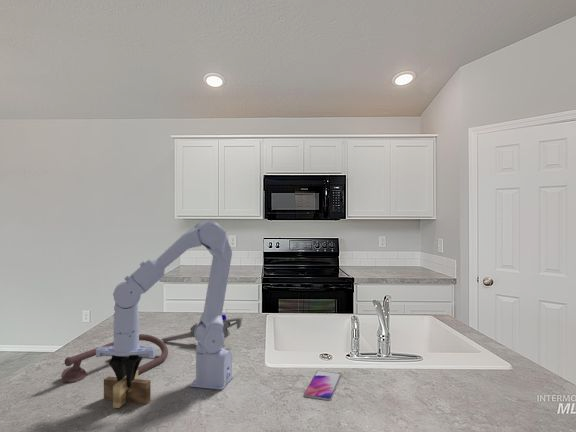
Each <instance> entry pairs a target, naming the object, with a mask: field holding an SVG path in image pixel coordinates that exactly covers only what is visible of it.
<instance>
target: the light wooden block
mask: <svg viewBox="0 0 576 432" xmlns="http://www.w3.org/2000/svg"><path fill="white" fill-rule="evenodd" d="M139 375H140V374H139V370H137V371H136V375H135V379H140V378H139ZM128 389H129V388H128V387H127V380H126V376H125V377H124V378H123V379H122V380H120V381H119V382H118V383H116V384H115V385H114V386H113V400H112V408H115V409H120V408H121V407H122V406H123V405H125V404H126V403H127V402H126V391H127V390H128ZM130 389H131V387H130Z"/></svg>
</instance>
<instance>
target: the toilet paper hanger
mask: <svg viewBox="0 0 576 432" xmlns="http://www.w3.org/2000/svg"><path fill="white" fill-rule="evenodd" d="M139 341H144V342H145V341H146V342H148V343H152V344H154V345H156V346H157V347H158V348H159V349H160V351H161V354H160V356H159V357H158V356H157V358H155V359H154V358H153V359H152V360H151V361H148V362H146V363H144V364H142V365H139V366H138V369H137V370H139V375H140V374H143V373H144V372H146V371H149V370H150V369H152V368H155V367H157V366H159V365H160V364H162V363H163V362H164V361H165V360H166V359H167V358H168V355H169V349H168V347H167V345H166V342H164V341H163V340H161V339H160V338H159V337H156V336H154V335H150V334H143V333H139ZM107 346H114V341H112V342H110V343H107V344H104V345H100V346H98V347H95V348H92V349H90V350H87V351H85V352H81V353H79V354H75V355H72V356H71V357H69V356H68V357H66V358H65V359H64V365H65V366H66V367H67V368H66V369H63V371H62V372H61V379H62V380H63V382H66V383H69V384H73V383H77V381H78V382H80V381H82V380H85V378H86V376H87V371H86V369H84V368H83V367H81V364H82V361H84V360H88V359H90V358H92V357H96V349H98V348H99V347H107ZM128 358H129V357H128Z"/></svg>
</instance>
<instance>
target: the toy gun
mask: <svg viewBox="0 0 576 432" xmlns="http://www.w3.org/2000/svg"><path fill="white" fill-rule="evenodd" d="M222 320H223V325H224V326H223V334H224V338H225V339H226V338H227V337H229V336H230V335H231V333H230V331H229V328H231V327H233V326H235V325H236V329H237V330H238V329H240V328H241V326H242V321H243V317H240V316H239V317H232V318H227V316H226V314H222ZM232 322H233V323H232ZM198 324H199V323H198V322H196V323H195V324H193V325H192V326H191V327H190V331H186V332H183V333H178V334H174V335H169V336H165V337H162V338H161V339H160V340H162V341H163V342H164V343H166V342H172V341H178V340H183V339H188V338H195V336H194V331H195V328H196V327H197V325H198Z"/></svg>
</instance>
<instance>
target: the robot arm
mask: <svg viewBox="0 0 576 432" xmlns="http://www.w3.org/2000/svg"><path fill="white" fill-rule="evenodd" d="M226 231H227V230H225V229H224V228H223V227H222V226H221V225H220V224H219V223H218V222H216V221H200V222H198V223H197V224H195V225H194V227H191V228H190V229H189V230H187V231H185V232H184V233H183V234H181V236H179V238H178V239H177V240H176V241H174V242H173V243H172V244H171V245H170V246H169V247H168V248H167V249H165V250H164V252H163V253H161V255H159V257H157V258H156V259H147V260H146V261H144V260H143V261H141V262H140V263H139V266H140V267H138V268H136V270H135V271H133V272H132V273H131V274H130V275H126V276H125V277H124V281H122V282H120V283H118V284H117V285H116V287H115V288H114V290H113V293H112V296H113V300H114V307H113V310H114V312H113V342H114V346H107V347H101V346H98V347H99V348H98V347H97V348H98V349H96V355H95V357H96V358H101V357H111V359H110V360H108V364H109V366H110V367H111V368H112V371H113V372H114V375H115V377H117V380H118V382H119V381H120V380H122V379H123V378H124V377H125V376H126V380H127V387H128V388H130V387H131V381H133V380H134V379H135V375H136V371H137V369H138V367H139V366H140V364H141V361H142V360H143V358H149V359H154V358H155V357H156V356H157V347H152V346H147V345H142V344H141V345H140V340H139V334H140V310H139V302H140V299H141V297H142V296H141V295H143V294H146V292H148V291H149V290H151V288H152V287H153V286H154V285H155V284H156V283H158V282H159V281H160V280H161V279H162V278H163V277H164V276H165V270H166V268H167V267H169V266H170V265H171V264H172V263H174V261H176V260H177V259H178V258H180V256H182V255H183V254H184V253H186V252H187V251H188V250H189V249H193V248H197V247H198V248H199V247H202V246H203V247H205V248H206V250H207V251H208V252H209V254H210V255H211V256H212V259H211V260H212V261H211V264H210V265H211V267H210V273H209V279H208V283H207V288H206V290H207V291H206V295H205V302H204V305H203V312H202V313H201V316H200V318H199V322H198V323H197V324H198V325H197V327H196V328H195V331H194V336H195V337H194V338H195V340H196V341H197V345H196V347H195V379H194V380H193V381H192V382H191V383H189V387H191V388H200V389H211V390H220V391H221V390H224V388H225V387H226V386H227V385H228V384H229V383H230V381H231V380H232V378H233V377H234V375H233V354H232V351H231V350H227V349H225V348H223V346H224V344H225V340H226V338H224V333H223V326H224V325H223V320H222V315H223V310H224V304H225V297H226V291H227V286H228V279H229V273H230V270H231V269H230V267H231V261H232V256H233V250H232V248H231V244H230V243H229V240H228V238H227V232H226ZM128 357H129V358H128Z"/></svg>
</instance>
